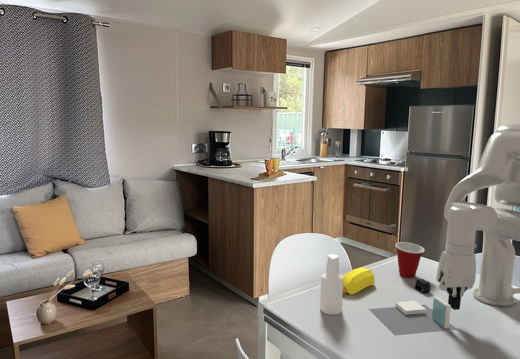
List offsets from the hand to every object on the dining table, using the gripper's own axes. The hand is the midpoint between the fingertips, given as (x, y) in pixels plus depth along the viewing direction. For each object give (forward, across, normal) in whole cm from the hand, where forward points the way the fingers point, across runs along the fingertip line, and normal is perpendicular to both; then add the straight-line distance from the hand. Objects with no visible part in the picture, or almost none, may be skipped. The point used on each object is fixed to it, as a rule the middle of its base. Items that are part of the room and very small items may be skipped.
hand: (453, 307), depth 121 cm
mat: (+5, +11, -4) cm, 13 cm away
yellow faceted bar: (+6, +17, -29) cm, 34 cm away
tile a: (+4, +5, -9) cm, 11 cm away
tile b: (+5, +4, 0) cm, 6 cm away
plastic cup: (+5, -8, -37) cm, 38 cm away
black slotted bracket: (+6, -5, -22) cm, 24 cm away
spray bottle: (+6, +33, -14) cm, 36 cm away
